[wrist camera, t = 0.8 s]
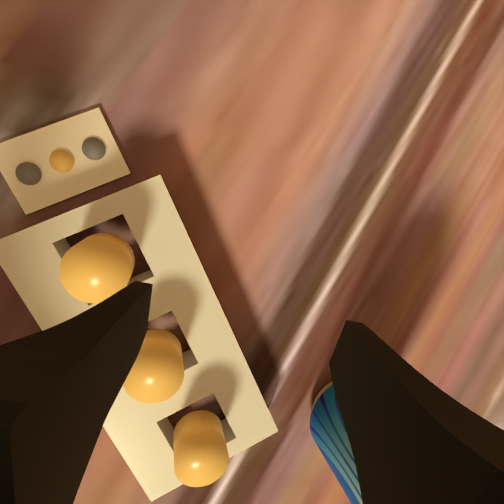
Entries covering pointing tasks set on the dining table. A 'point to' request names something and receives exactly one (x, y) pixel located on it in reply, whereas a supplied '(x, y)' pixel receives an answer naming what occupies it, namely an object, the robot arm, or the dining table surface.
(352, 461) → the beer can
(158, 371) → the button
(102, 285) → the button
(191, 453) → the button
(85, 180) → the card
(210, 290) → the board
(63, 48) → the dining table surface
